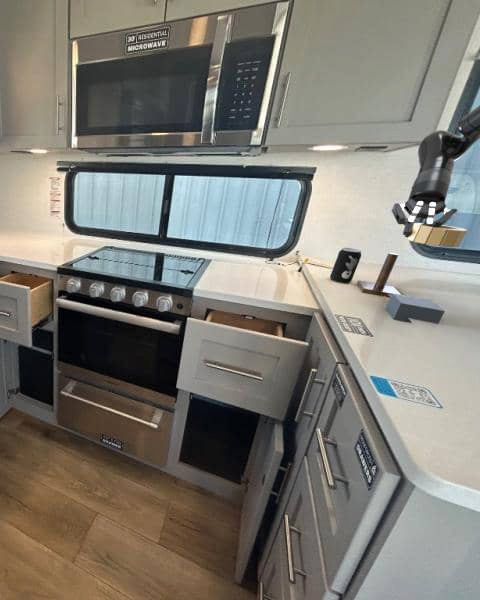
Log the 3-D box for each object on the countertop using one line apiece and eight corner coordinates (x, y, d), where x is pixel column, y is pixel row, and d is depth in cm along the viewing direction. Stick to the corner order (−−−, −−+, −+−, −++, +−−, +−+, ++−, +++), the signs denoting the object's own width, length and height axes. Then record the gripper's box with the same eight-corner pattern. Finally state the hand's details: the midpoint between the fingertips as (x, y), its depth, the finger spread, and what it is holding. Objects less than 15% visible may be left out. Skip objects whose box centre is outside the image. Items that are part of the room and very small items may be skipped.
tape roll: (456, 243, 91) (464, 227, 89) (460, 249, 84) (469, 232, 82) (406, 236, 97) (413, 221, 95) (406, 241, 90) (413, 225, 88)
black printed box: (332, 282, 121) (344, 250, 117) (326, 276, 127) (337, 246, 122) (353, 284, 120) (366, 252, 115) (346, 279, 125) (358, 248, 121)
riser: (424, 316, 96) (432, 300, 94) (436, 327, 89) (445, 311, 87) (385, 308, 100) (392, 293, 98) (393, 319, 93) (400, 303, 91)
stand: (391, 290, 116) (408, 253, 111) (399, 299, 108) (418, 259, 103) (356, 284, 120) (371, 248, 115) (362, 292, 112) (378, 254, 107)
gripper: (402, 177, 96) (386, 223, 92) (471, 181, 88) (456, 232, 84) (393, 195, 102) (378, 239, 98) (457, 200, 94) (443, 249, 90)
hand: (414, 236), depth 91 cm, fingers closed on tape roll, 2 cm apart
